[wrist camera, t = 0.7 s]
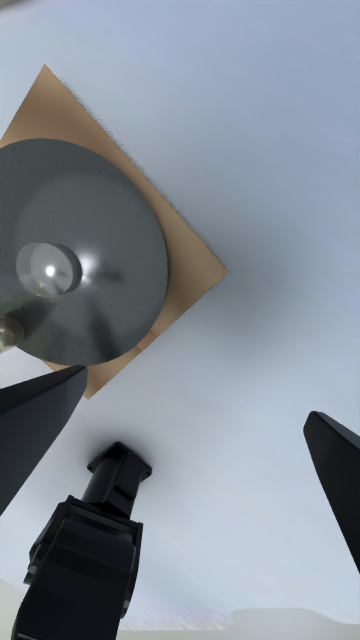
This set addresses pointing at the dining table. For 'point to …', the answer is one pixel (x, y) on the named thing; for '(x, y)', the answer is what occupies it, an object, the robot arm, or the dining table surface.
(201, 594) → the dining table surface
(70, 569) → the robot arm
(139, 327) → the handwheel
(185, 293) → the wheel base
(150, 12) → the dining table surface
